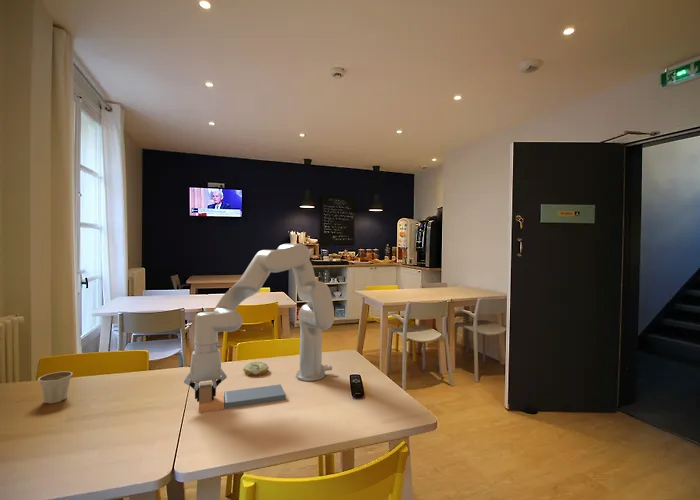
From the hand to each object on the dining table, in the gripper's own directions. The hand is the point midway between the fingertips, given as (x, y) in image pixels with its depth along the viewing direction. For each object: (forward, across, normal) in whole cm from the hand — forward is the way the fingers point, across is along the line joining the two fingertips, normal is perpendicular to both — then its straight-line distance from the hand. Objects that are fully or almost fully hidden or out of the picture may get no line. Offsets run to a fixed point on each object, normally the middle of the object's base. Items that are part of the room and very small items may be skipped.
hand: (205, 398), depth 122 cm
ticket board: (+2, -17, 0) cm, 17 cm away
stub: (+2, -2, 0) cm, 3 cm away
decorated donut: (+3, -20, -27) cm, 34 cm away
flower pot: (+3, +50, -22) cm, 54 cm away
